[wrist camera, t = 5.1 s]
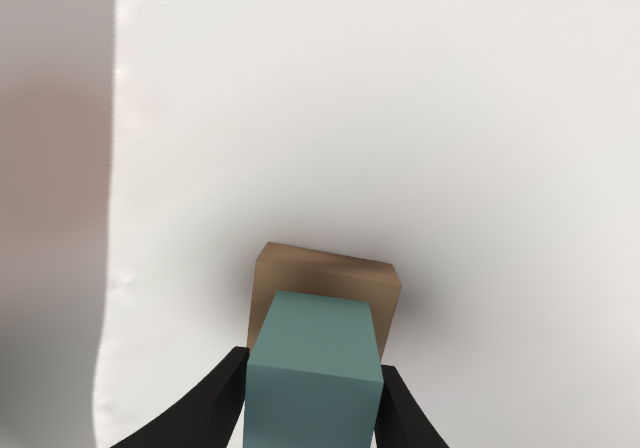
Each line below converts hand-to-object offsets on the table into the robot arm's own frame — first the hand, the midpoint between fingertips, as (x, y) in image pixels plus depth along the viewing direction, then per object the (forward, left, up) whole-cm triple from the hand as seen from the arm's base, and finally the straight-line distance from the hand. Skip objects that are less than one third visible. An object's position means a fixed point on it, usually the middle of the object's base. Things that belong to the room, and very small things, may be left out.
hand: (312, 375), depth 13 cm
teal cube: (0, 0, -3) cm, 3 cm away
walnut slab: (0, 0, -6) cm, 6 cm away
